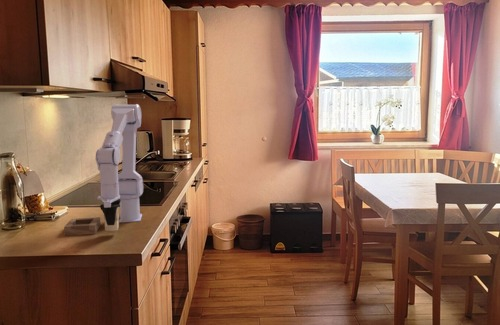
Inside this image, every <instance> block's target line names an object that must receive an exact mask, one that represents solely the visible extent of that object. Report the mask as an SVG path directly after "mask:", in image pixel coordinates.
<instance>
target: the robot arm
mask: <svg viewBox="0 0 500 325" xmlns="http://www.w3.org/2000/svg"><path fill="white" fill-rule="evenodd" d="M110 114H111V118H112V121H113V122H112V125H111V130H110V131H108V132H107V133H106V134H105V137H104V140H103V143H102V145H101V147H100V148H99V149H97V150H96V152H95V162H96V164H97V170H98V171H99V183H100V195H99V196H97V200H99V201H100V200H101V201H102V204H100V206H99V209H100V210H101V211H102V213H103V216H104V215H105V219H106V222H107V225H114V223H115V215H116V210H117V207H118V208H120V209H119V212H120V215H119V216H120V217H119V224H120V223H133V222H134V223H136V222H141V221H142V216H143V213H141V212H140V211H141V210H140V208H141V207H140V206H141V205H140V197H141V196H142V195H143V193H144V179H143V177H142V175H141V174H139V173H138V172H137V171H136V158H137V156H136V155H137V131H138V128H141V125H142V108H141V106H140V105H139V104H138V103H136V104H117V103H116V104H115V103H114V104H113V105H112V106H111V111H110ZM121 147H122V165H121V166H122V169H121V170H122V171H121V172H119V171H118V170H119V168H118V165H119V163H120V161H121V150H120V149H121Z"/></svg>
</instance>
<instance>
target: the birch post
mask: <svg viewBox="0 0 500 325" xmlns="http://www.w3.org/2000/svg"><path fill="white" fill-rule="evenodd" d="M119 216H120V215H119V207H117V210H116V215H115V223H114V225H107V222H106V219H105V215H104V214H103V218H104V231H105V232H111V231H112V232H113V231H118V230H119V228H120V223H119V219H120V217H119Z"/></svg>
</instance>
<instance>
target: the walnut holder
mask: <svg viewBox="0 0 500 325" xmlns="http://www.w3.org/2000/svg"><path fill="white" fill-rule="evenodd" d="M101 223H102V222H101V216H99V217H96V216H95V217H84V218H83V217H81V218H80V217H79V218H71V219H69V220H68V222H67V223H66V224H65V225H64V227H63V228H64V236H78V235H80V236H81V235H93V234H94V235H95V234H97V232H98V231H99V228H100V227H101V225H102V224H101Z"/></svg>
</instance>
